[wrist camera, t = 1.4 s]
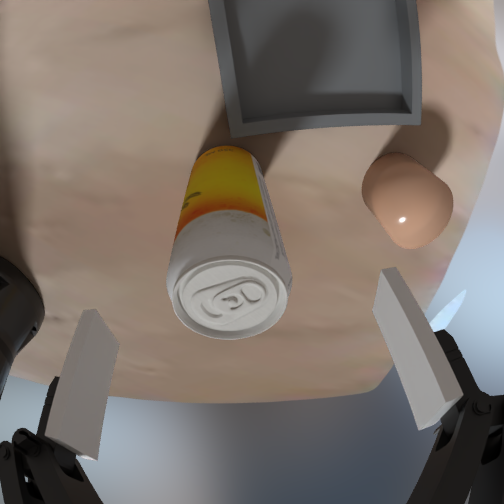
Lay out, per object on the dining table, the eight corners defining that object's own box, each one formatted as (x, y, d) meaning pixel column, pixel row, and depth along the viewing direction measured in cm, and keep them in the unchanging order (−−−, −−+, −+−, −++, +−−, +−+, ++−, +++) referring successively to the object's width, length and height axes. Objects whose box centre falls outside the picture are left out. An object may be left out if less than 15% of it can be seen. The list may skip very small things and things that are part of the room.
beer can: (178, 165, 24) (136, 287, 12) (240, 130, 23) (260, 226, 11) (214, 217, 28) (210, 356, 16) (273, 187, 26) (314, 316, 15)
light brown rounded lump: (359, 218, 29) (383, 254, 24) (362, 154, 25) (393, 180, 20) (415, 211, 29) (444, 242, 24) (423, 151, 25) (459, 176, 20)
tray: (230, 130, 23) (231, 138, 21) (201, -45, 13) (199, -56, 11) (405, 117, 23) (420, 125, 21) (392, -40, 13) (407, -46, 11)
